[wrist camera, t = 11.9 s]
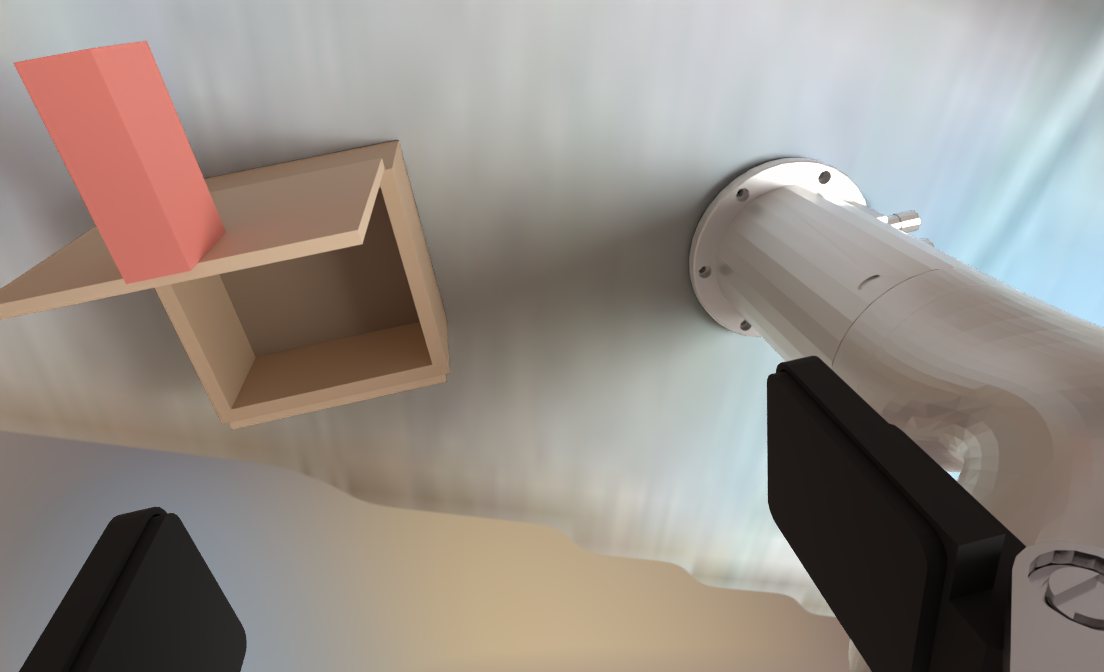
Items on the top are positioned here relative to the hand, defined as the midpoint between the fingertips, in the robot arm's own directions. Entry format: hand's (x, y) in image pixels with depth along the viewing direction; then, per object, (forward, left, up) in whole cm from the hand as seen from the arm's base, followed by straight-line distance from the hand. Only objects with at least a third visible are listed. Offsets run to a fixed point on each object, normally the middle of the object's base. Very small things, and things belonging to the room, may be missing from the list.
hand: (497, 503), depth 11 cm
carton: (+10, +6, -32) cm, 34 cm away
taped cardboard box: (+9, 0, -19) cm, 21 cm away
